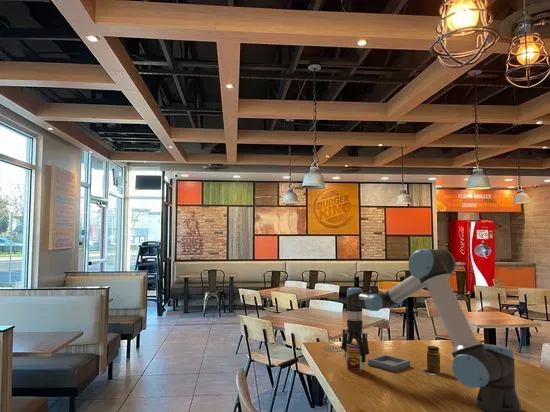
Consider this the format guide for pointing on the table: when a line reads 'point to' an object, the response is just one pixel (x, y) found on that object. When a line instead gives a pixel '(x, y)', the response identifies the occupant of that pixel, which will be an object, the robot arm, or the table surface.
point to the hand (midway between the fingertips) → (355, 366)
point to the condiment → (433, 361)
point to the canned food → (353, 357)
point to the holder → (389, 363)
